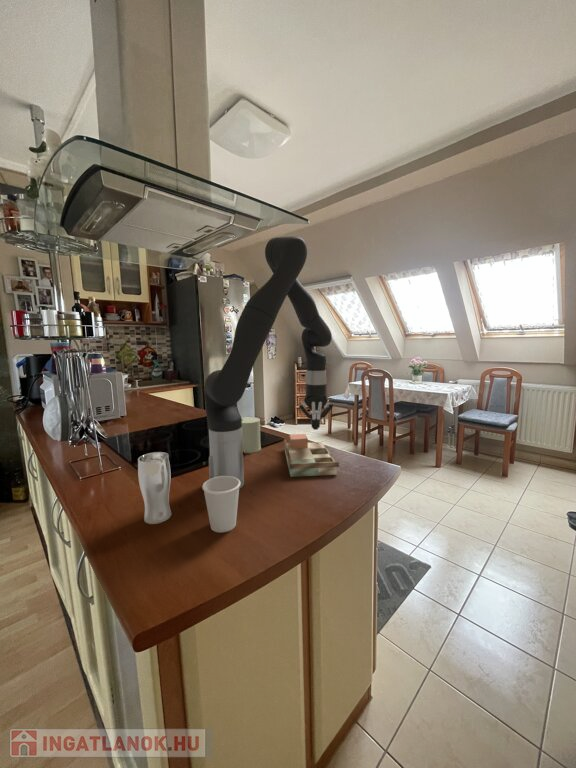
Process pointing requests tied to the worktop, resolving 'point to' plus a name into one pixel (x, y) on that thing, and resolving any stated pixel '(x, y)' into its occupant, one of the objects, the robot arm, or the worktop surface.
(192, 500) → the worktop surface
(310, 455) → the board
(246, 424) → the can
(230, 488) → the dixie cup
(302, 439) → the salmon pink square block
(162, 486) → the beer glass
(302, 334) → the robot arm
